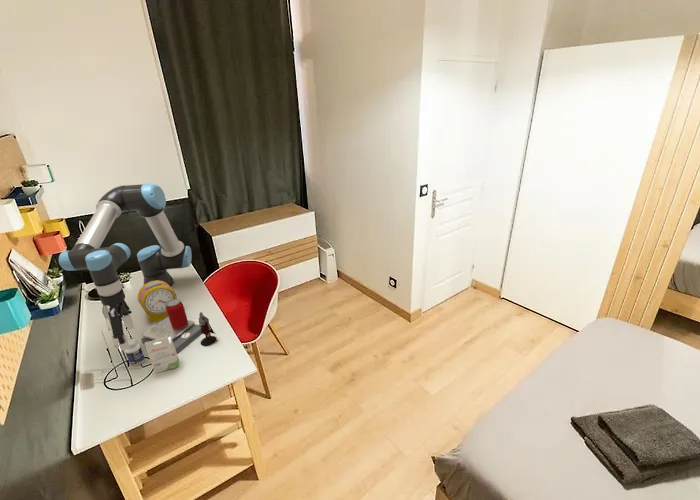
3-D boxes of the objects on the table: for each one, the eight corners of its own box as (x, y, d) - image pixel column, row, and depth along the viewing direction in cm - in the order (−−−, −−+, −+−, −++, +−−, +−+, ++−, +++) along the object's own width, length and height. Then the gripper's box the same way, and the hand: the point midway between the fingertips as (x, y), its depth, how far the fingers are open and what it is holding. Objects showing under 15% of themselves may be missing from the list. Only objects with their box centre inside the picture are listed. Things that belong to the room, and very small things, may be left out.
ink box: (179, 359, 144) (169, 329, 137) (178, 367, 139) (168, 337, 133) (155, 365, 141) (145, 335, 135) (154, 373, 137) (143, 343, 130)
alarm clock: (148, 325, 166) (137, 292, 158) (144, 318, 171) (132, 285, 164) (181, 312, 174) (171, 280, 167) (176, 305, 180) (166, 274, 172)
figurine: (197, 344, 152) (188, 314, 145) (209, 334, 158) (202, 305, 151) (208, 348, 149) (200, 318, 143) (221, 337, 155) (213, 308, 149)
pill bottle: (138, 366, 140) (130, 347, 136) (126, 365, 142) (119, 346, 138) (148, 357, 145) (141, 338, 141) (136, 356, 146) (129, 337, 142)
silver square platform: (170, 318, 166) (169, 315, 165) (195, 324, 160) (194, 321, 159) (142, 338, 153) (141, 335, 152) (168, 345, 148) (167, 342, 147)
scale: (171, 322, 167) (170, 316, 166) (204, 330, 160) (203, 325, 159) (142, 343, 154) (140, 337, 153) (177, 353, 147) (175, 347, 145)
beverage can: (184, 318, 162) (178, 296, 157) (190, 324, 157) (184, 301, 152) (169, 325, 158) (162, 302, 153) (175, 331, 153) (168, 308, 148)
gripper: (105, 279, 139) (122, 324, 148) (90, 311, 118) (111, 361, 126) (127, 275, 142) (142, 319, 150) (116, 305, 120) (135, 355, 129)
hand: (128, 338), depth 138 cm, fingers open, 13 cm apart
